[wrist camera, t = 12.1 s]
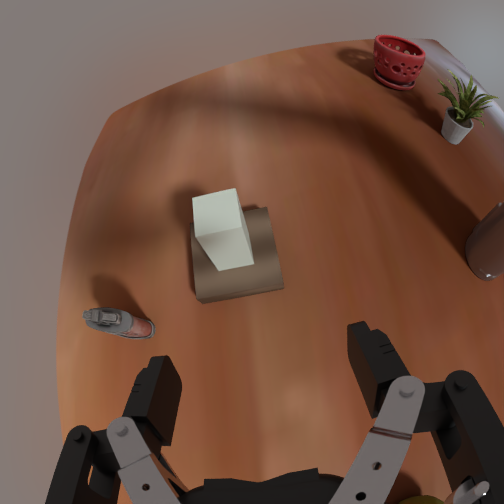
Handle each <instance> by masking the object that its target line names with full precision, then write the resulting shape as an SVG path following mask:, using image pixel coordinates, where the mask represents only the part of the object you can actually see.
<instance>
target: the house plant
mask: <svg viewBox="0 0 504 504" xmlns="http://www.w3.org/2000/svg"><path fill="white" fill-rule="evenodd" d="M449 71H450V70H449ZM450 72H451V71H450ZM451 74H452V75H453V76H454V77H455V78H454V77H453V76H452V77H453V78H454V79H456V80H455V81H456V83H457V86H458V85H459V87H458V92H459V89H460V92H461V93H458V94H459V98H458V99H459V100H460V102H459V104H460V107H459V105H458V102H457V100H456V98H455V97H454V95H453V94H452V93H451V91H450V90H449V89H448V88H447V86H446V85H445V84H444V83H443V82H442V81H440V80H439V79H438V81H439V82H440V83H441V84H442V86H443V88H444V90H445V92H443V93H438V94H440V95H442V96H445V97H447V98H448V99H449V100H450V101H451V103H452V105H453V107H448V108H447V109H446V113H445V118H444V122H443V126H442V130H441V133H442V135H443V137H444V138H445V139H446V140H447V141H448V142H450V143H452V144H458V143H460V142H461V140H462V139H463V138H464V137H465V136H466V135H467V133H468V132H469V131H470V130H471V129H472V128H473V122H472V120H471V118H473V117H482V116H481V115H480V113H484V112H483V111H482V110H484V108H487V107H490V106H487V107H484V108H479V106H481V105H484V104H487V103H489V102H491V101H487V100H490V99H493V98H498V97H495V96H489V95H487V94H480V95H478V96H477V97H476V98H475V99H474V100H473V101H472V99H473V97H474V95H475V93H476V90H477V86H475V87H474V89H473V90H472V91H471V89H472V85H473V79H472V75H471V77H470V81H469V84H468V87H467V91H466V88H465V85H464V83H463V86H464V95H463V91H462V87H461V84H460V82H459V80H458V78H457V77H456V76H455V75H454V74H453V73H452V72H451ZM446 79H447V78H446ZM460 79H461V78H460ZM447 80H448V79H447ZM448 81H449V80H448ZM461 81H462V80H461ZM449 82H450V81H449ZM462 82H463V81H462ZM450 83H451V82H450ZM451 84H452V83H451ZM452 85H453V84H452ZM453 87H454V86H453ZM454 89H455V88H454ZM455 91H456V90H455ZM470 92H471V93H470ZM456 93H457V92H456ZM484 95H487V96H485V97H483V98H481V99H480V100H479V101H477V102H476V103H475V104H474V105H473V106H472V107H471V108H469V107H470V105H471V104H472V103H473V102H474V101H475V100H476V99H477V98H479V97H481V96H484ZM457 96H458V95H457ZM484 101H487V102H485V103H483V102H484ZM481 103H482V104H481ZM479 104H480V105H479ZM474 119H476V118H474ZM477 120H479V119H477ZM479 121H480V122H481V123H482V124H483V128H484V123H483V122H482V121H481V120H479Z"/></svg>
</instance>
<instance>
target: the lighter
mask: <svg viewBox="0 0 504 504" xmlns="http://www.w3.org/2000/svg"><path fill="white" fill-rule="evenodd" d="M82 317H83V319H85V320H86V324H87V325H88V326H89V327H91V328H93V329H96V330H99V331H103V332H106V333H110V334H114V335H118V336H121V337H125V338H130V339H147V338H152V337H153V336H154V334H155V325H154V324H153V323H152V322H150V321H147V320H144V319H141V318H137V317H134V316H132V315H131V314H130V313H128V312H125V311H122V310H119V309H114V308H94V309H90V310H89V311H84V312H83V316H82Z"/></svg>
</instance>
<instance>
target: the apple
mask: <svg viewBox="0 0 504 504" xmlns="http://www.w3.org/2000/svg"><path fill="white" fill-rule="evenodd" d="M398 504H444V502H443V501H441V500H439V499H437V498H436V497H432V496H428V495H424V496H415V497H410V498H407V499H405V500H402V501H401V502H399V503H398Z"/></svg>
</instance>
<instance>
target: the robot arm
mask: <svg viewBox="0 0 504 504" xmlns="http://www.w3.org/2000/svg"><path fill="white" fill-rule="evenodd" d="M465 253H466V258H467V261H468V264H469V266H470V268H471V269H472V271H473V272H474V273H475V274H476V275H477V276H478V277H479V278H481V279H483V280H487V281H489V280H493V279H494V278H496V277H498V276H499V275H501V274H503V273H504V202H503V203H498V204H497V205H496V206H495V207H494V208H493V209H492V210H491V211H490V212H489V213H488V214H487V215H486V216H485V217H484V218H483V219H482V220H481V221H480V222H479V223H478V224H477V225H476V226H475V227H474V228H473V233H472V234H471V235H470V236H469V237H468V239H467V241H466V246H465ZM347 345H348V357H349V361H350V364H351V367H352V369H353V372H354V374H355V377H356V379H357V382H358V384H359V387H360V389H361V392H362V394H363V397H364V400H365V402H366V405H367V407H368V410H369V413H370V415H371V418H372V419H373V418H376V417H377V420H376V422H375V424H374V426H373V428H371V429H370V431H369V433H368V435H367V437H366V439H365V441H364V443H363V445H362V447H361V449H360V451H359V453H358V454H357V456H356V458H355V460H354V462H353V464H352V466H351V467H350V469H349V471H348V473H347V475H346V476H345V478H343V477H340V476H336V475H331V474H319V473H318V468H313V469H308V470H303V471H297V472H291V473H287V474H284V475H281V476H279V477H276V478H273V479H270V480H267V481H264V482H251V481H244V480H237V479H232V478H228V479H204V485H203V486H199V487H196V488H194V489H192V490H190V491H189V490H188V488H187V487H186V486H185V485H184V484H183V483H182V482H181V480H180V479H179V478H178V476H177V475H176V473H175V472H174V471H173V469H172V468H171V466H170V465H169V463H168V462H167V460H166V459H165V457H164V455H163V454H162V453H161V452H160V451H161V446H171V442H172V437H173V431H174V426H175V421H176V416H177V411H178V406H179V402H180V397H181V392H182V382H181V379H180V376H179V374H178V373H177V371H176V369H175V367H174V365H173V363H172V361H171V359H170V357H169V356H167V355H166V356H155V357H151V359H150V362H149V364H148V367H147V368H143V369H142V371H141V372H140V373H139V374H138V375H137V377H136V380H135V382H134V386H133V388H132V390H131V393H130V396H129V398H128V401H127V404H126V407H125V409H124V412H123V415H122V417H119V418H117V419H115V420H113V421H112V422H111V423H110V424H109V426H108V428H107V429H105V430H100V431H95V432H92V431H91V430H90V429H89V428H88V427H87V426H84V425H79V426H76V427H74V428H73V429H72V430H71V431H70V432H69V433H68V435H67V438H66V441H65V444H64V446H63V449H62V452H61V455H60V458H59V460H58V463H57V466H56V469H55V472H54V475H53V479H52V482H51V485H50V488H49V492H48V495H47V499H46V502H45V504H117V500H118V494H119V489H120V484H121V481H122V483H123V485H124V487H125V489H126V491H127V493H128V495H129V497H130V499H131V501H132V503H133V504H388V503H386V502H385V500H386V498H387V496H388V494H389V492H390V490H391V488H392V486H393V484H394V481H395V479H396V477H397V475H398V472H399V470H400V468H401V465H402V463H403V460H404V458H405V455H406V452H407V450H408V447H409V444H410V442H411V438H412V433H420V432H429V431H430V432H431V434H432V437H433V439H434V442H435V444H436V447H437V450H438V452H439V455H440V458H441V460H442V463H443V466H444V469H445V472H446V475H447V478H448V481H449V484H450V487H451V490H452V493H451V494H450V495H449V496H448V497H447V499H446V500H445V502H444V504H504V427H503V425H502V423H501V421H500V419H499V418H498V416H497V414H496V412H495V410H494V409H493V407H492V405H491V403H490V402H489V400H488V398H487V397H486V395H485V393H484V392H483V390H482V388H481V387H480V385H479V383H478V382H477V380H476V379H475V377H474V376H473V375H472V374H471V373H469V372H467V371H463V370H458V371H454V372H452V373H450V374H449V375H448V376H447V378H446V380H445V381H443V382H435V383H423V382H422V381H421V380H420V379H418V378H416V377H413V376H411V375H410V374H409V372H408V370H407V368H406V367H405V365H404V363H403V362H402V360H401V358H400V356H399V355H398V353H397V351H395V348H394V346H393V345H392V344H391V342H390V340H389V338H388V337H387V335H386V334H384V333H383V332H381V331H380V330H379V329H375V330H372V331H370V329H369V327H368V326H367V324H366V322H365V321H361V322H357V323H353V324H349V325H348V326H347ZM91 465H92V466H93V470H92V474H91V478H90V482H89V485H88V476H89V472H90V469H91Z"/></svg>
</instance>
